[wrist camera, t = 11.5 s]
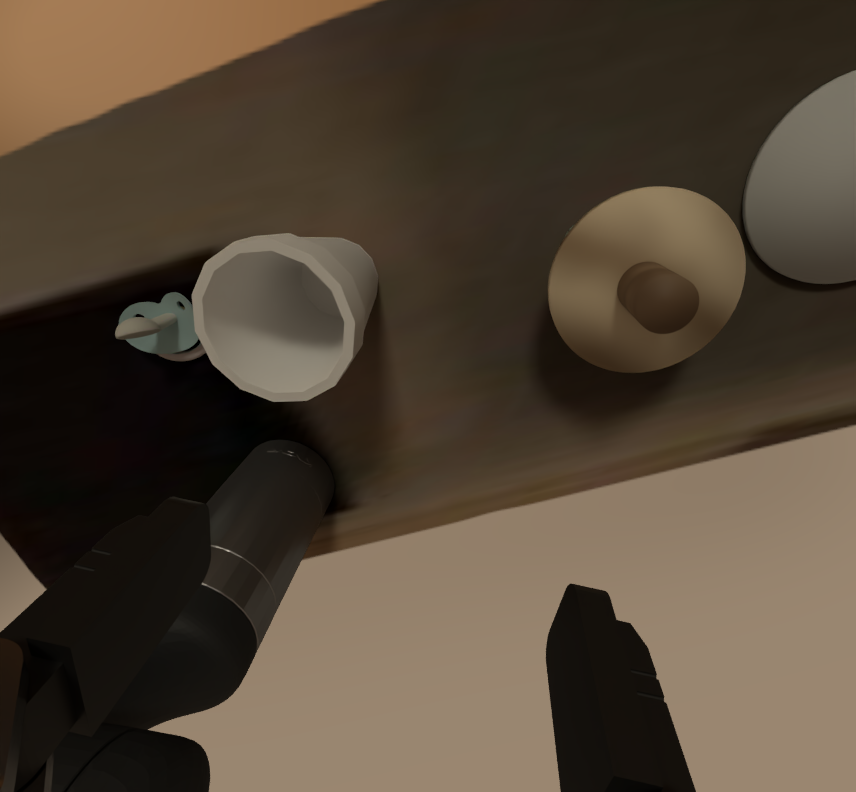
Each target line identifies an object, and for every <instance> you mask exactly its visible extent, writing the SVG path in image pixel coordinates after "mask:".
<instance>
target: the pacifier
mask: <svg viewBox="0 0 856 792" xmlns="http://www.w3.org/2000/svg"><path fill="white" fill-rule="evenodd" d="M179 301H180V302H182V304H183V305H184V307H182V306H180V305H179ZM136 314H142V315H143V316H144V317H145V318H143V317H135V316H136ZM115 335H116V338H117V339H125V340H126V341H127V342H129V343H130V344H131V345H133V346H134V347H136V348H138V349H140V350H142V351H145V352H148V353H155V354H158V355H159V356H161V357H163V358H166V359H168V360H173V361H188V360H193V359H196V358H198V357H200V356H202V355H203V354H205V353H206V351H205V349H204V347H203V345H202V343H201V342H200V344H199V345H198V346H197V347H196V348H195V349H192V350H190V351H184V352H182V351H183V350H186V349H189V348H190V347H192V346H193V345H194V344H195V343H196V342H197V341H198V340H199V338H198V336H197V334H196V332H195V327H194V315H193V306H192V305H191V303H190V302H189V301H188V300H187V299H186V298H185V297H184V296H183V295H181V294H179V293H175V292H173V293H169V294H166V295H165V296H164V297H163V299H162V301H161V303H159V304H157V303H154V302H140V303H136V304H133V305H131V306H129V307H128V308H127V309H125V310H124V312H123V313H122V314H121V317H120V319H119V326H118V327H117V329H116V332H115Z"/></svg>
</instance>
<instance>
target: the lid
mask: <svg viewBox="0 0 856 792" xmlns="http://www.w3.org/2000/svg"><path fill="white" fill-rule="evenodd" d="M745 272H746V258H745V252H744V246H743V243H742V240H741V236H740V234H739V232H738V230H737V228H736V226H735V224H734V223H733V221H732V220H731V219H730V217H729V216H728V214H727V213H726V212H725V211H723V210H722V209H721V208H720V207H719V206H718V205H717V204H715V203H714V202H713V201H711V200H710V199H708V198H706V197H704V196H702V195H700V194H698V193H695V192H692V191H689V190H685V189H680V188H673V187H655V186H651V187H644V188H637V189H633V190H629V191H626V192H623V193H620V194H618V195H615V196H613V197H611V198H609V199H607V200H605V201H603V202H602V203H600V204H598V205H597V206H595V207H594V208H593V209H591V210H590V211H588V212H587V213H586V214H585V215H584V216H583V217H582V218H581V219H580V220H578V222H577V223H576V224H575V225H574V226H573V227H572V228H571V230H570V231H569V232H568V234H567V235H566V236H565V238H564V239H563V241H562V243H561V244H560V246H559V248H558V250H557V252H556V254H555V257H554V260H553V262H552V265H551V269H550V273H549V280H548V302H549V308H550V312H551V315H552V319H553V321H554V324H555V326H556V328H557V330H558V332H559V334H560V336H561V337H562V339H563V340H564V342H565V343H566V344H567V345H568V346H569V347H570V348H571V350H572V351H574V352H575V353H576V354H577V355H578V356H580V357H581V358H582V359H584V360H586V361H587V362H589V363H591V364H593V365H595V366H598V367H600V368H603V369H607V370H610V371H616V372H622V373H641V372H649V371H654V370H659V369H662V368H665V367H669V366H671V365H673V364H676V363H678V362H681V361H682V360H684V359H686V358H688V357H690V356H691V355H693V354H694V353H696V352H697V351H699V350H700V349H702V348H703V347H704V346H705V345H706V344H707V343H709V342H710V341H711V340H712V339H713V338H714V337H715V336H716V335H717V334H718V333H719V332H720V330H721V329H722V328H723V327H724V325H725V324H726V322H727V321H728V320H729V318H730V316H731V315H732V313H733V311H734V309H735V308H736V305H737V303H738V301H739V298H740V296H741V292H742V289H743V285H744V279H745Z"/></svg>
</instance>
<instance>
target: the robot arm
mask: <svg viewBox="0 0 856 792" xmlns="http://www.w3.org/2000/svg"><path fill="white" fill-rule="evenodd" d="M333 494H334V479H333V475H332V473H331V471H330V468H329V467H328V465H327V464H326V462H325V461H324V460H323V459H322V458H321V457H320V456H319V455H318V454H317V453H316V452H314V451H313V450H311V449H310V448H308V447H306V446H304V445H302V444H300V443H297V442H293V441H289V440H272V441H268V442H265V443H262V444H260V445H259V446H257V447H256V448H254V450H253V451H252V452H251V453H250V454H249V455H248V456H247V458H246V459H245V460H244V461H243V462H242V463H241V464H240V466H239V467H238V468H237V469H236V470H235V471H234V472H233V473H232V474H231V476H230V477H229V478H228V479H227V480H226V481H225V483H224V484H223V485H222V486H221V487H220V488H219V490H218V491H217V492H216V493H215V494H214V495H213V497H212V498H211V499H210V500H209V501H208V502H207V503H206V504H204V503H199V502H195V501H190V500H185V499H181V498H176V497H170V498H168V499H166V500H165V501H164V502H163V503H162V504H161V505H160V506H159V507H158V508H157V509H156V510H155V511H154V512H153V513H152V514H151V515H150V516H149V517H145V516H141V515H138V516H137V517H135V518H133V519H131V520H129V521H127V522H125V523H123V524H121V525H119V526H118V527H116V528H114V529H112V530H111V531H110V532H109V533H108V534H107V535H106V536H105V537H103V538H102V539H101V540H100V541H99V542H98V543H97V544H96V545H95V546H94V547H93V548H92V551H91V552H87V553H86V554H85V555H84V556H83V557H82V558H81V559H80V560H79V561H77V562H76V563H75V566H74V568H70V569H69V570H68V571H67V572H66V573H64V574H63V575H62V576H61V577H60V578H59V579H58V580H57V581H56V582H55V583H54V584H53V585H51V586H50V587H49V588H48V589H47V590H46V591H45V592H44V593H43V594H42V595H41V596H40V597H38V598H37V599H36V600H35V601H34V602H33V603H32V604H31V605H30V606H29V607H28V608H27V609H25V610H24V611H23V612H22V613H21V614H20V615H19V616H18V617H17V618H16V619H15V620H14V621H12V622H11V623H10V624H9V625H8V626H7V627H6V628H5V629H4V630H2V631H1V632H0V792H209V783H210V767H209V761H208V758H207V755H206V752H205V751H204V749H203V748H202V747H201V745H199V744H198V743H196V742H195V741H193V740H190V739H187V738H185V737H181V736H177V735H171V734H166V733H160V732H155V731H150V730H148V729H149V728H151V727H154V726H156V725H158V724H160V723H163V722H166V721H168V720H171V719H174V718H177V717H181V716H185V715H189V714H193V713H196V712H201V711H204V710H207V709H210V708H212V707H215V706H217V705H219V704H220V703H222V702H224V701H225V700H227V699H228V698H229V697H230V696H231V695H232V694H233V693H234V692H235V691H236V689H237V688H238V687H239V686H240V684H241V682H242V680H243V678H244V677H245V675H246V673H247V671H248V669H249V667H250V665H251V663H252V661H253V659H254V657H255V654H256V652H257V650H258V648H259V646H260V644H261V642H262V640H263V638H264V636H265V634H266V631H267V630H268V628H269V626H270V624H271V621H272V619H273V617H274V615H275V613H276V611H277V609H278V607H279V605H280V602H281V600H282V599H283V597H284V595H285V593H286V591H287V589H288V587H289V584H290V582H291V580H292V578H293V576H294V574H295V572H296V570H297V568H298V566H299V564H300V562H301V560H302V558H303V556H304V554H305V552H306V550H307V548H308V546H309V544H310V542H311V540H312V538H313V536H314V534H315V532H316V530H317V528H318V526H319V524H320V522H321V520H322V518H323V516H324V514H325V512H326V510H327V508H328V506H329V504H330V502H331V500H332V497H333ZM546 664H547V674H548V683H549V692H550V701H551V709H552V718H553V727H554V736H555V745H556V753H557V762H558V771H559V780H560V789H561V792H696V790H695V788H694V785H693V782H692V778H691V776H690V773H689V770H688V767H687V764H686V761H685V758H684V755H683V752H682V749H681V746H680V743H679V740H678V737H677V734H676V731H675V728H674V725H673V722H672V719H671V716H670V713H669V710H668V707H667V704H666V703H665V702H664V695H663V692H662V689H661V686H660V683H659V680H657V679H656V675H657V674H656V671H655V668H654V665H653V662H652V659H651V656H650V653H649V650H648V648H647V646H646V645H645V643H644V642H643V640H642V639H641V638H640V636H639V635H638V634H637V632H636V631H635V629H634V628H633V626H632V625H631V624H630V623H627V622H622V621H618V620H616V617H615V614H614V610H613V607H612V603H611V600H610V597H609V595H608V593H607V592H606V591H603V590H598V589H593V588H589V587H584V586H580V585H575V584H569V585H568V586H567V588H566V591H565V593H564V595H563V598H562V600H561V603H560V606H559V608H558V610H557V613H556V616H555V618H554V621H553V623H552V626H551V628H550V632H549V634H548V639H547V647H546Z"/></svg>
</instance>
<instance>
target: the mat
mask: <svg viewBox="0 0 856 792" xmlns="http://www.w3.org/2000/svg"><path fill="white" fill-rule="evenodd" d="M742 216H743V223H744V229H745V232H746V235H747V238H748V241H749V242H750V244H751V246H752V248H753V250H754V251H755V253H756V254H757V255H758V257H759V258H760V259H761V260H762V261H763V262H764V263H765V264H766V265H767V266H769V267H770V268H772V269H773V270H775V271H776V272H778V273H780V274H782V275H784V276H787V277H789V278H792V279H795V280H799V281H802V282H808V283H814V284H834V283H843V282H848V281H853V280H856V70H855V71H852V72H849V73H847V74H845V75H842V76H840V77H837V78H835V79H833V80H832V81H830V82H828V83H826V84H824V85H822V86H821V87H819V88H818V89H816V90H815V91H813V92H812V93H810V94H809V95H807V96H806V97H805V98H804V99H802V100H801V101H800V102H799V103H798V104H796V105H795V106H794V107H793V108H792V109H791V110H790V111H789V112H788V113H787V114H786V115H785V116H784V117H783V118H782V119H781V120H780V121H779V122H778V124H777V125H776V126H775V127H774V129H773V130H772V131H771V132H770V134H769V135H768V137H767V138H766V140H765V141H764V143H763V144H762V146H761V147H760V149H759V151H758V153H757V155H756V157H755V159H754V161H753V163H752V166H751V168H750V171H749V174H748V176H747V180H746V184H745V188H744V194H743V202H742Z"/></svg>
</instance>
